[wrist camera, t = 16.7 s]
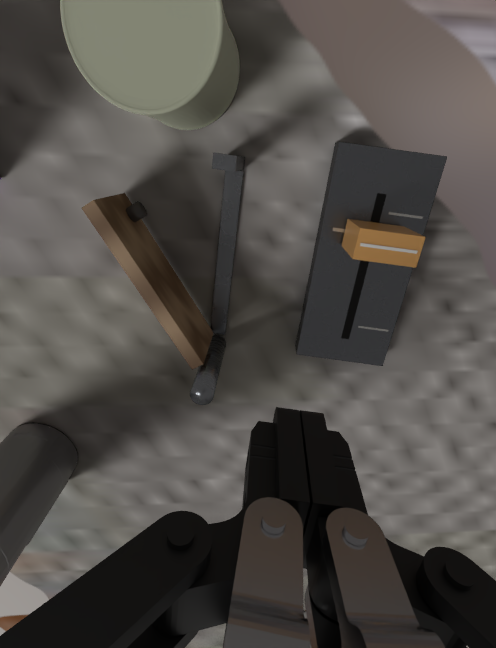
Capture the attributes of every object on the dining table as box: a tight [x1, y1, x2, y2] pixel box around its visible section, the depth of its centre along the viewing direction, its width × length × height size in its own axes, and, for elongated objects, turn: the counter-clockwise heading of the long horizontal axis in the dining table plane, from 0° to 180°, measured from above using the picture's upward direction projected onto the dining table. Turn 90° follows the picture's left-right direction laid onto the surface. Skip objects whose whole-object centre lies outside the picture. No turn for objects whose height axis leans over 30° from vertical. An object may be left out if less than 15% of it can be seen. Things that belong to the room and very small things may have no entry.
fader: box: [342, 219, 426, 268], centre depth 31 cm, size 2×5×5 cm, turn 83°
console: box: [295, 142, 447, 366], centre depth 36 cm, size 20×9×2 cm, turn 173°
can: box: [60, 0, 240, 130], centre depth 26 cm, size 9×9×12 cm
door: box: [82, 193, 213, 369], centre depth 34 cm, size 16×2×7 cm, turn 29°
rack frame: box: [190, 153, 245, 405], centre depth 33 cm, size 20×2×10 cm, turn 173°
